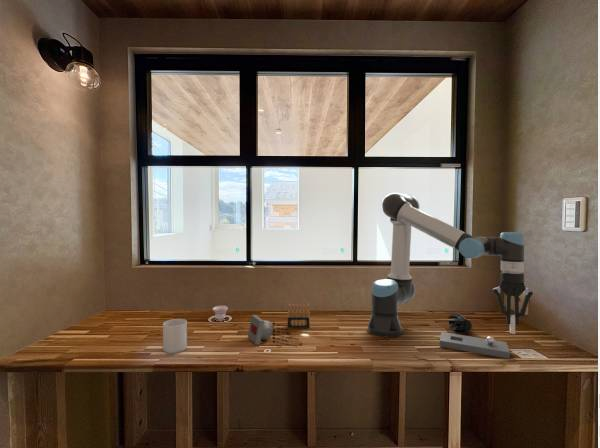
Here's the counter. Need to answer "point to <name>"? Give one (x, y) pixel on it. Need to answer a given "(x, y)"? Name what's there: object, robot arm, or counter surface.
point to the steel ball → (490, 340)
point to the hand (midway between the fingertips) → (512, 332)
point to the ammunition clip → (294, 317)
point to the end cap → (460, 324)
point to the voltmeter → (264, 330)
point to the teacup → (220, 314)
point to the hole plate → (474, 345)
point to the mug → (174, 336)
